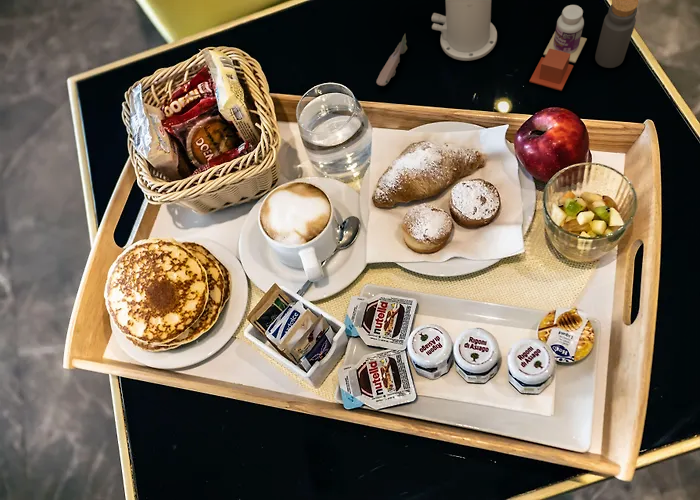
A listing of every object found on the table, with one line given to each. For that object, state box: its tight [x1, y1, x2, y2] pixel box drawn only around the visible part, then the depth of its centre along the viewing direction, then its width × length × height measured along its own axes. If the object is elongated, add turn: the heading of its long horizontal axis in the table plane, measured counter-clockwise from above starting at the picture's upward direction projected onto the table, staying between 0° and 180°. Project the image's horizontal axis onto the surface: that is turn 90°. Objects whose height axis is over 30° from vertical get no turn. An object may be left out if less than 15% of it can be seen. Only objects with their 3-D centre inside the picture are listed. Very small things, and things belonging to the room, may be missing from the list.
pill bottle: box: [553, 4, 585, 54], centre depth 127 cm, size 5×5×10 cm
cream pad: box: [543, 32, 588, 64], centre depth 132 cm, size 7×7×1 cm
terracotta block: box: [539, 48, 570, 84], centre depth 127 cm, size 4×4×4 cm
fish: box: [375, 33, 408, 87], centre depth 135 cm, size 3×14×5 cm, turn 153°
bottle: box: [594, 0, 639, 69], centre depth 122 cm, size 6×6×15 cm
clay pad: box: [529, 56, 574, 92], centre depth 129 cm, size 7×7×1 cm
